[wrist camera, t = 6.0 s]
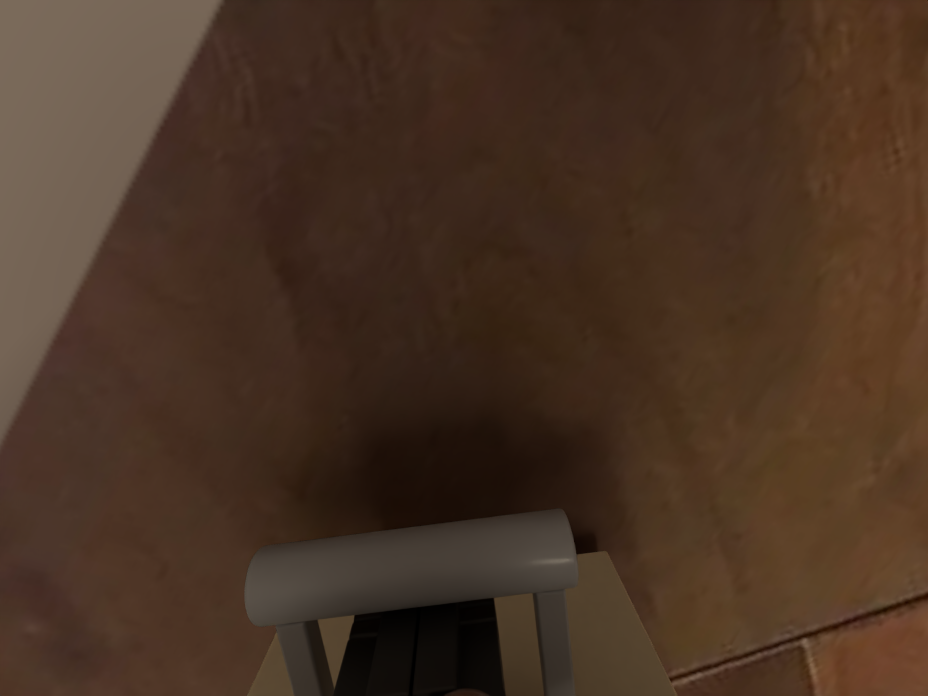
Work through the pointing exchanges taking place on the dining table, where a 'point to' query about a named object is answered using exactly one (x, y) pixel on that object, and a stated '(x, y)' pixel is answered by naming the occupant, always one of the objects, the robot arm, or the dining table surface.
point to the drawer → (449, 581)
